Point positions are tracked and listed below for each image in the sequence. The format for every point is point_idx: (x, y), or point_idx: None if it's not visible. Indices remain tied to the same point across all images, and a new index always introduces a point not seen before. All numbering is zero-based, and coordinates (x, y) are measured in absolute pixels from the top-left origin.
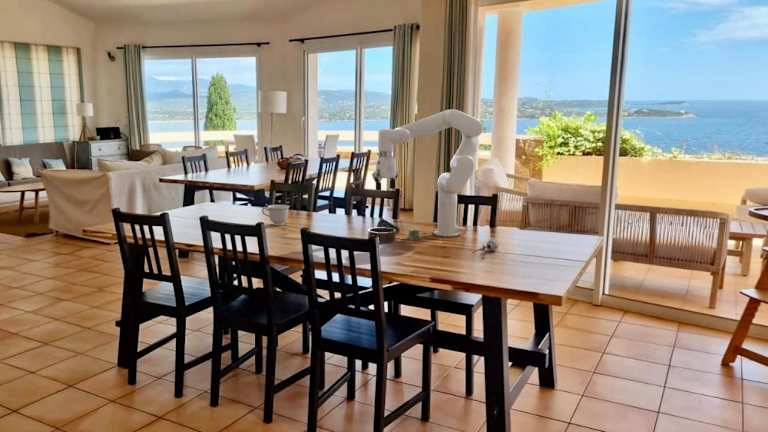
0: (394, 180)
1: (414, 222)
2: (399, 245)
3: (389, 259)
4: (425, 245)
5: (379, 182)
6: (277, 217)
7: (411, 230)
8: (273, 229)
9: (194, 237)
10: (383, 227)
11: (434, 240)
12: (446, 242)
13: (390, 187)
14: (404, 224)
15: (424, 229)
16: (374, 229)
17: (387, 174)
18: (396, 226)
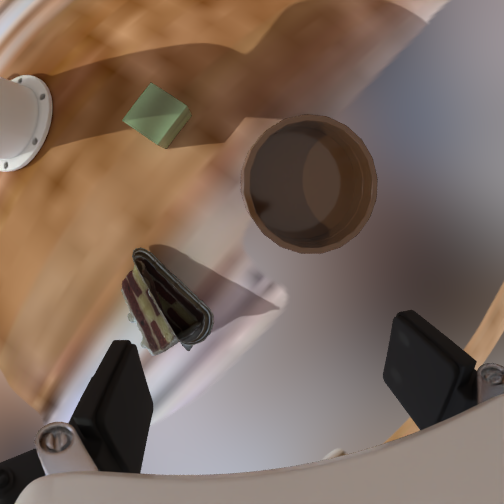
0: (78, 437)
1: (5, 354)
2: (307, 68)
3: (432, 6)
4: (221, 11)
5: (470, 376)
6: None
7: (179, 104)
8: None
9: None
10: (263, 230)
11: (123, 53)
12: (119, 12)
13: (149, 403)
14: (40, 356)
15: (19, 246)
16: (307, 246)
17: (480, 492)
18: (138, 270)
